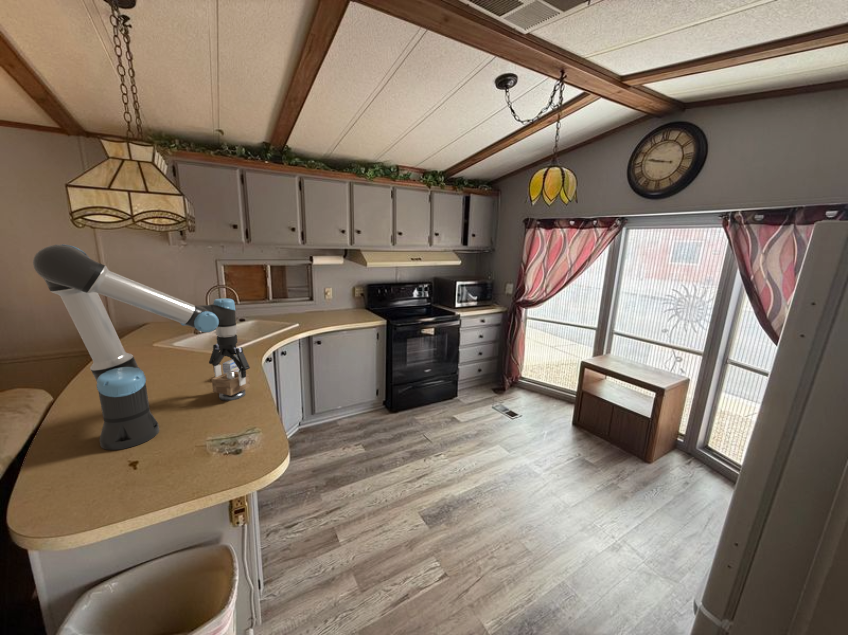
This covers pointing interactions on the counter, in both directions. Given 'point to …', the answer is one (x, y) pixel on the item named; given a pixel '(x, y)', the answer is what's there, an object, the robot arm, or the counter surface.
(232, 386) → the light wood square frame
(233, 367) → the medicine box
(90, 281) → the robot arm
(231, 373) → the post stand
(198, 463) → the counter surface
